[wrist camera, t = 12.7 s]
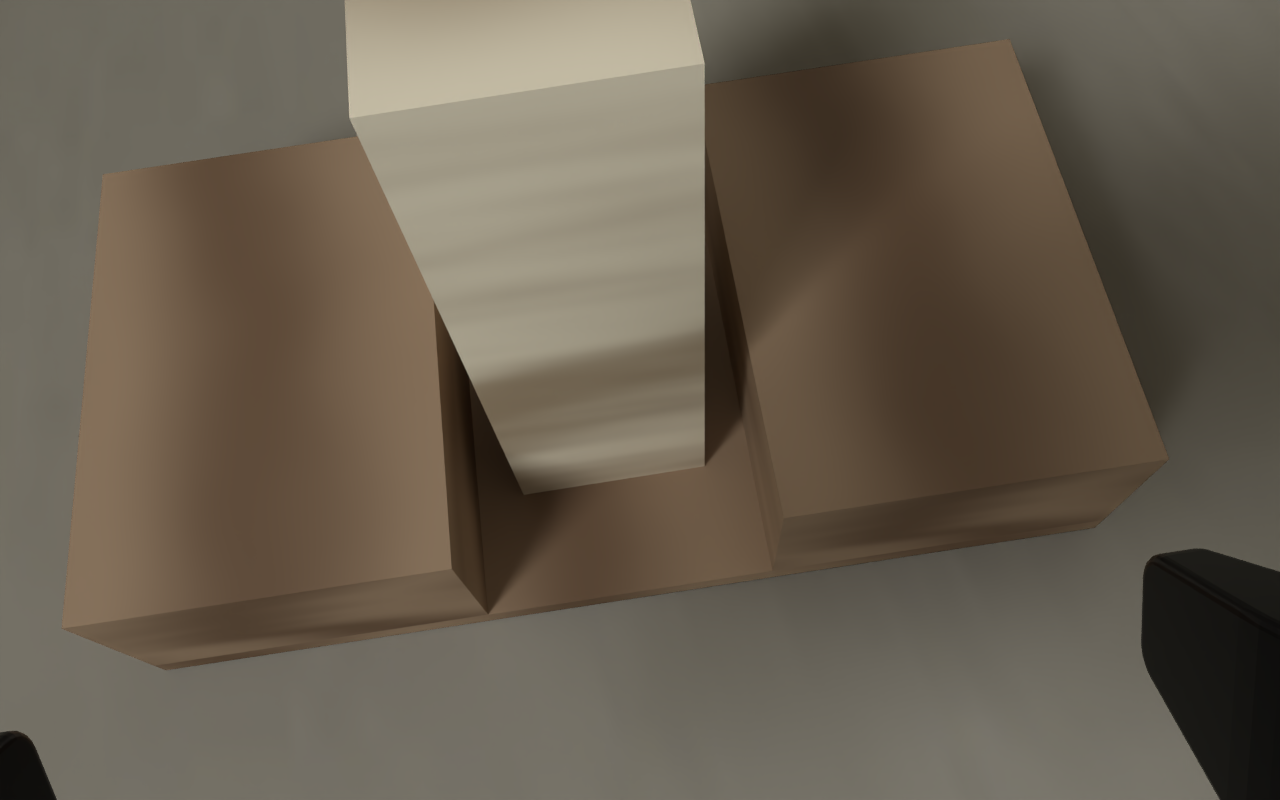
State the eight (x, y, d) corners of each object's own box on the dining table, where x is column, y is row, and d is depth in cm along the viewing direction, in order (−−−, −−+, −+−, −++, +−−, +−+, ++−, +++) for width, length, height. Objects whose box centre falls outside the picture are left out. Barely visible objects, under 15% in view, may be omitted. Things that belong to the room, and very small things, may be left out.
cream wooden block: (704, 466, 23) (704, 63, 12) (523, 494, 23) (349, 118, 12) (668, 273, 25) (639, -227, 14) (502, 298, 25) (337, -182, 14)
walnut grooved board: (968, 153, 27) (1009, 39, 23) (1094, 527, 23) (1169, 459, 19) (184, 271, 27) (102, 174, 23) (165, 670, 22) (61, 628, 19)
